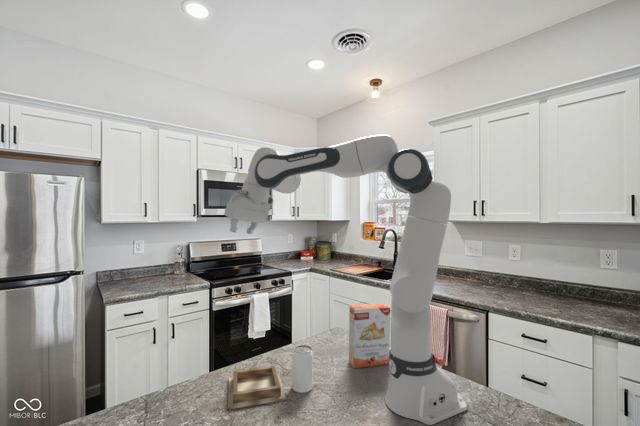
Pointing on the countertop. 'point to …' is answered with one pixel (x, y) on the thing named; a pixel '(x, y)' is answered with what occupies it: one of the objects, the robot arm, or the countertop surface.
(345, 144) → the robot arm
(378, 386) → the countertop surface
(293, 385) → the can
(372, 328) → the cracker box
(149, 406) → the countertop surface
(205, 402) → the countertop surface
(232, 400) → the wooden serving tray
